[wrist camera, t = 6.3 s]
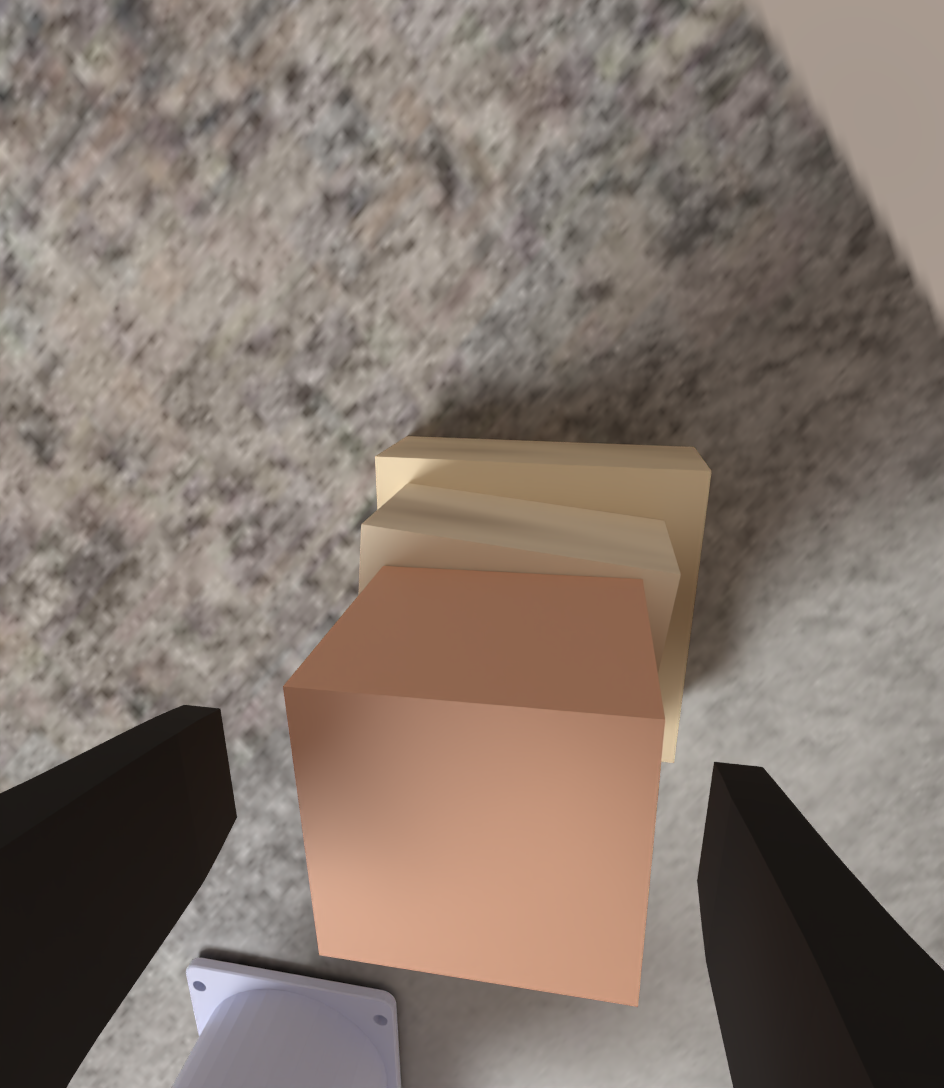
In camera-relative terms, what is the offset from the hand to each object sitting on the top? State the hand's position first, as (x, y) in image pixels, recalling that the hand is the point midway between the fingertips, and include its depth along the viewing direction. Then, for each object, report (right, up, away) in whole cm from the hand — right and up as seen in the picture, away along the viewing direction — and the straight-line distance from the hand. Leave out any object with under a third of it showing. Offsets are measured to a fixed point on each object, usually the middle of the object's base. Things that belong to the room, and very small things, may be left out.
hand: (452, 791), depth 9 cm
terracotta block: (+1, +1, +3) cm, 3 cm away
